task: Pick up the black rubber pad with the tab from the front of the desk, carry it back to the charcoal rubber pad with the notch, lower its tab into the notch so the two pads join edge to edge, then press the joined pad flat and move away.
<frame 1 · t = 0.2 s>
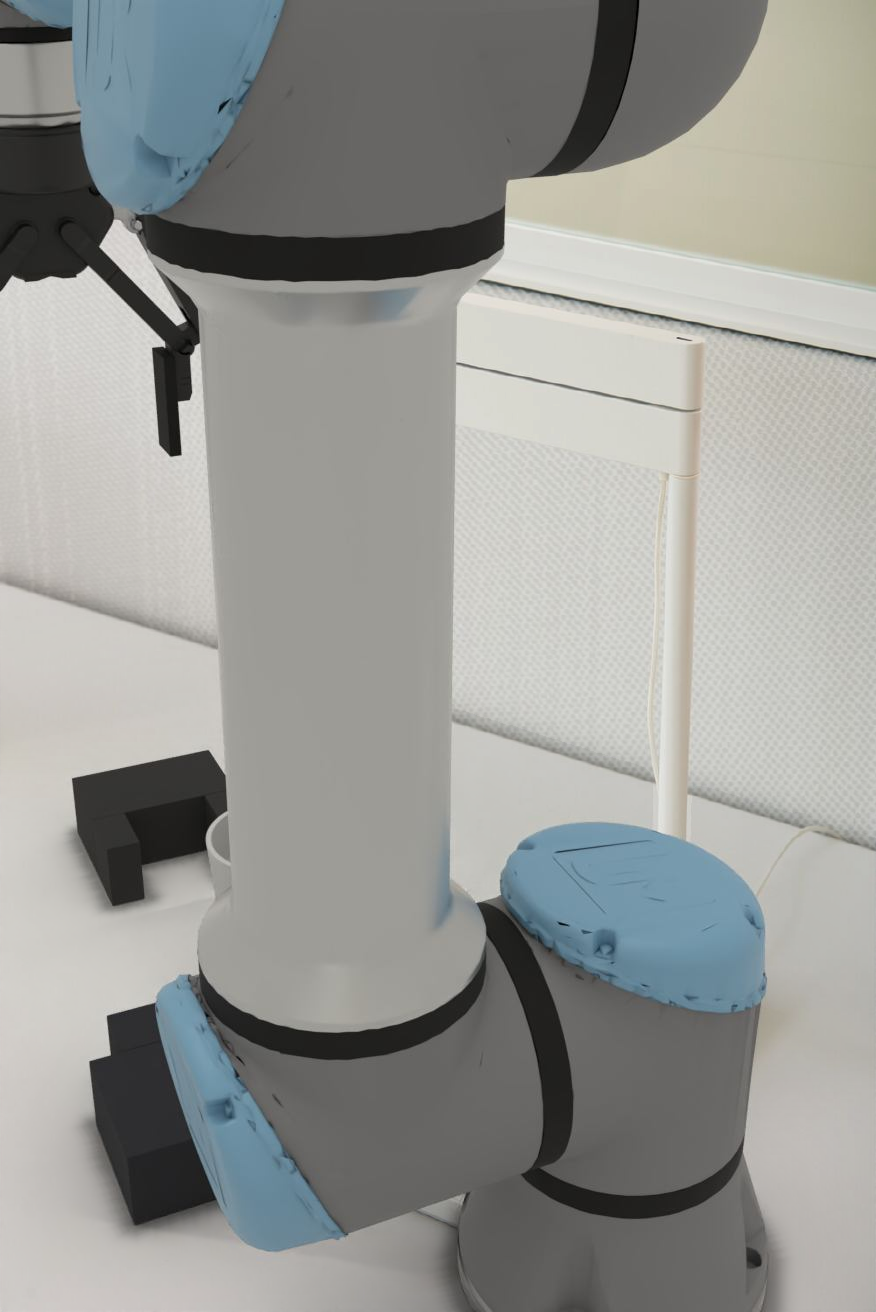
hand: (66, 464, 104), 28 cm above the table, tool pointing down, fingers open, 13 cm apart
cup: (283, 1003, 99), on the table
tab pad: (187, 1151, 88), on the table
notch pad: (165, 851, 114), on the table
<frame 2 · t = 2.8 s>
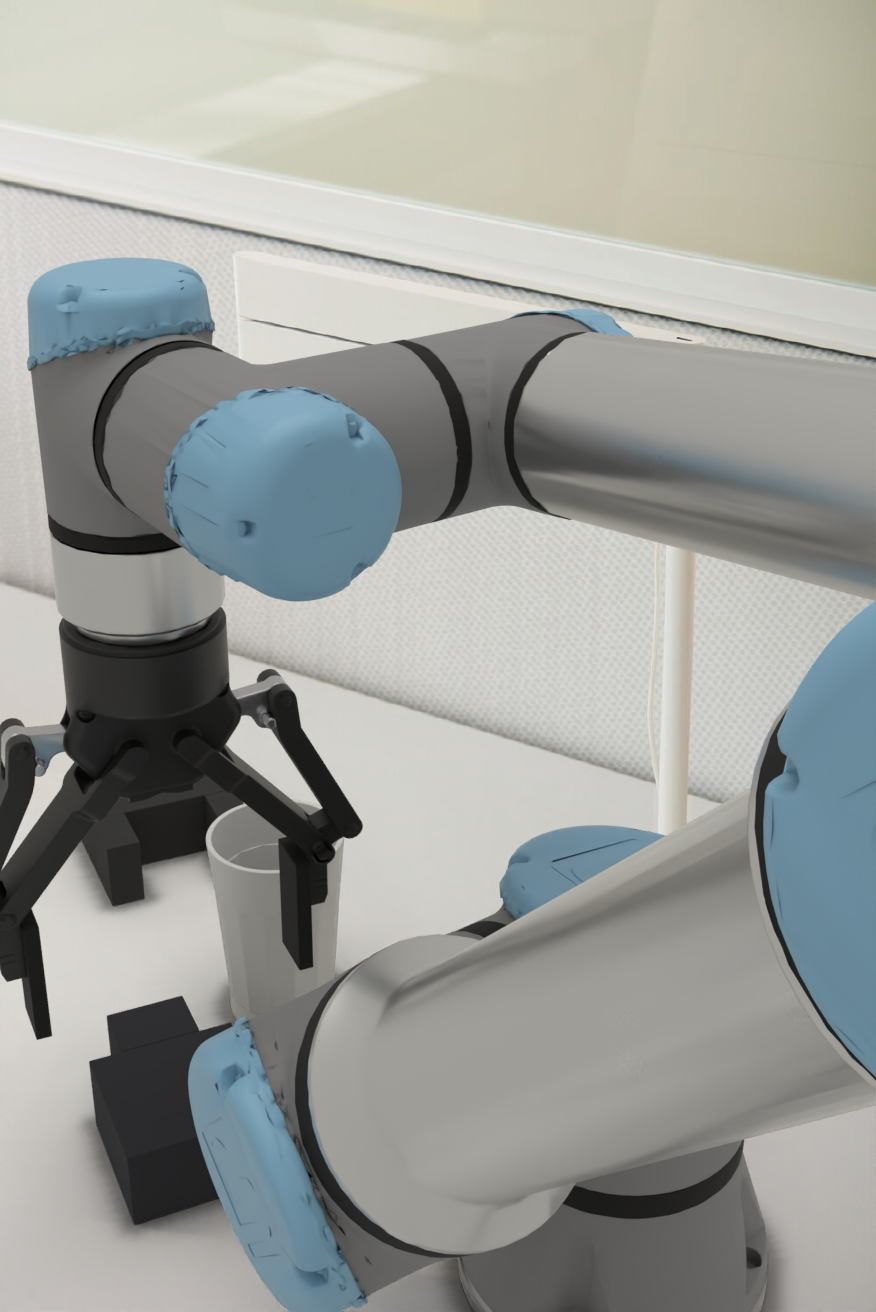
hand: (172, 987, 83), 11 cm above the table, tool pointing down, fingers open, 13 cm apart
nothing on the table moved.
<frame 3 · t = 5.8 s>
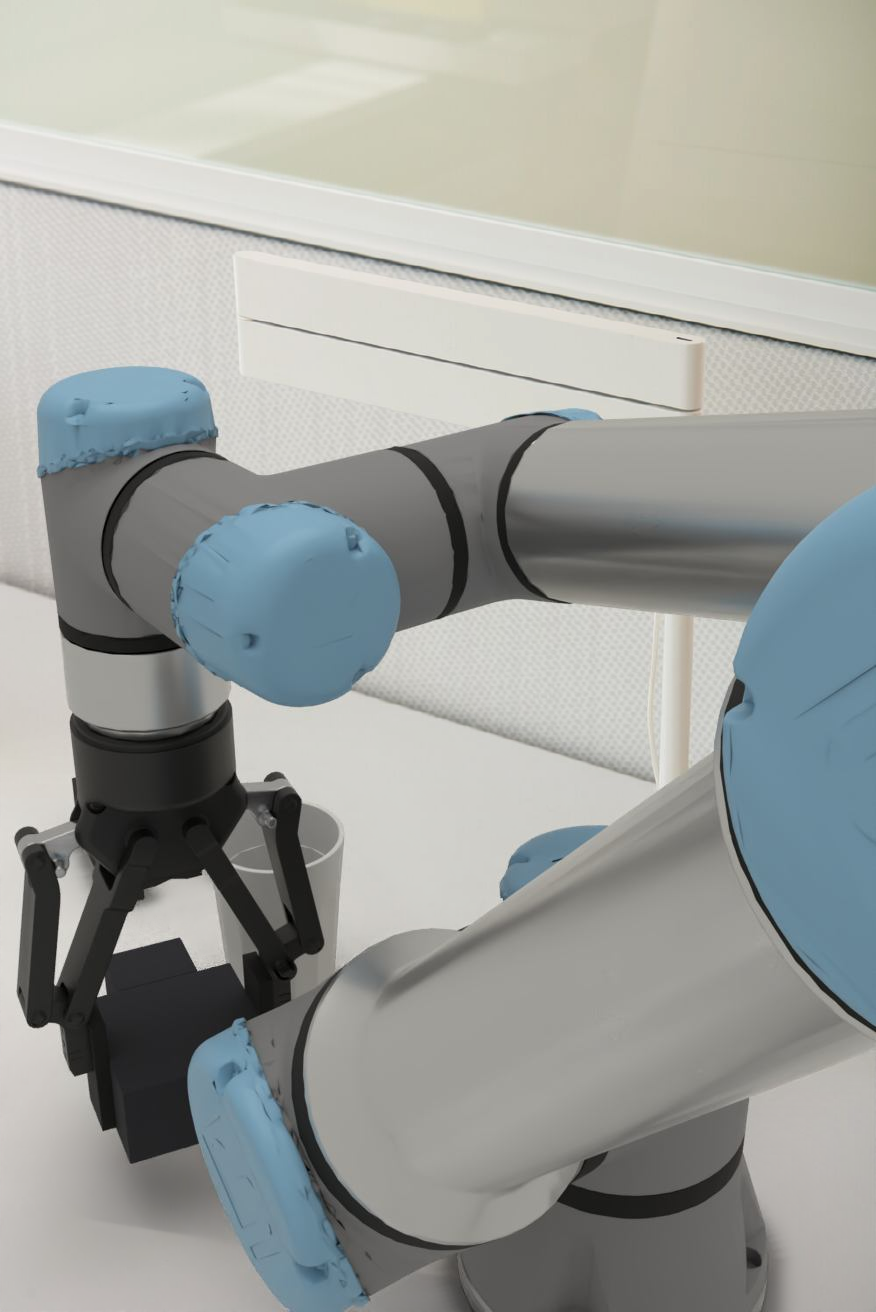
hand: (185, 1088, 85), 5 cm above the table, tool pointing down, fingers closed on tab pad, 8 cm apart
tab pad: (185, 1092, 86), point 4 cm above the table, touching gripper
everything else where it was.
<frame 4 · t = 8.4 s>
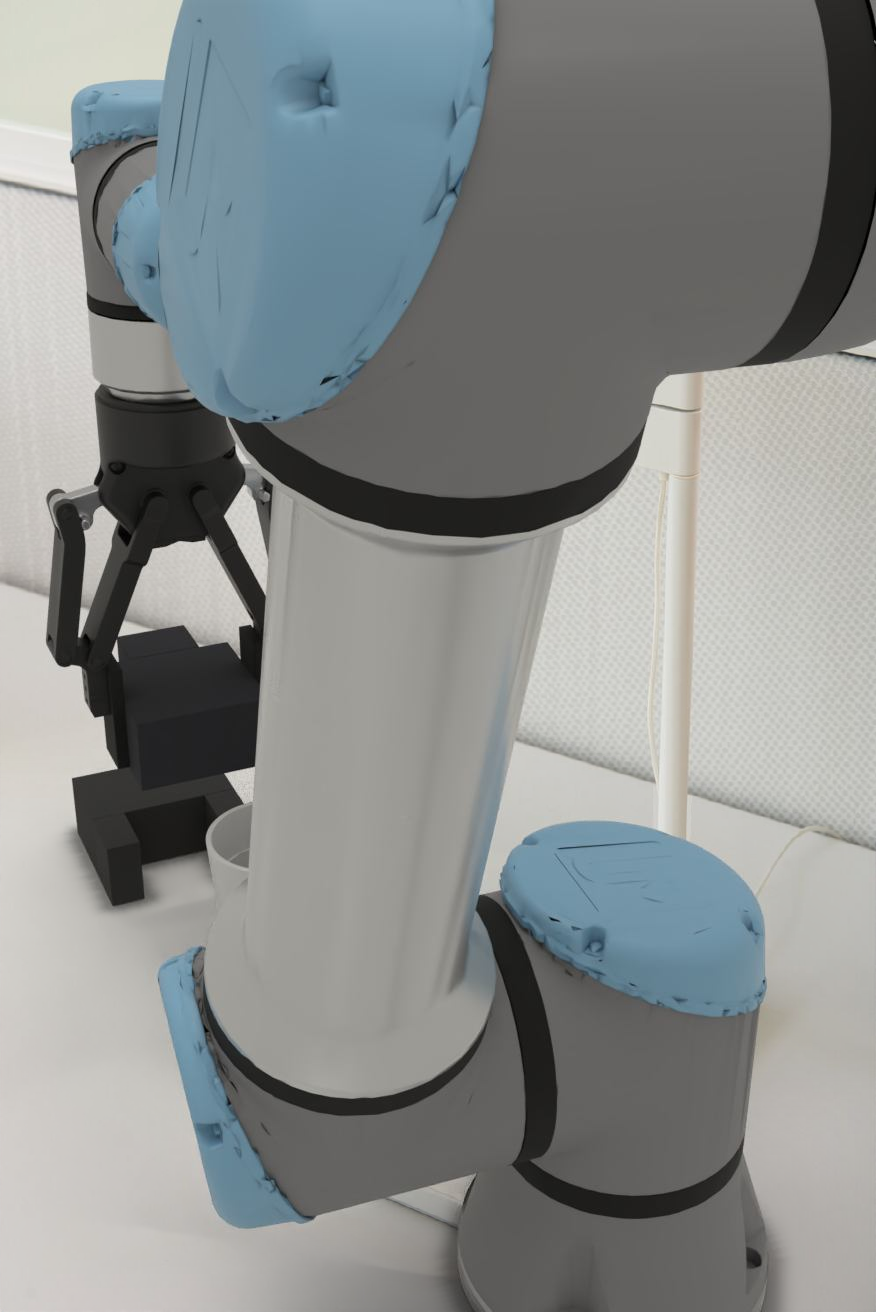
hand: (188, 742, 99), 14 cm above the table, tool pointing down, fingers closed on tab pad, 8 cm apart
tab pad: (188, 745, 99), point 14 cm above the table, touching gripper
everything else where it was.
when the fingers open (0 cm above the table, at t = 11.2 s): tab pad stays where it is, on the table.
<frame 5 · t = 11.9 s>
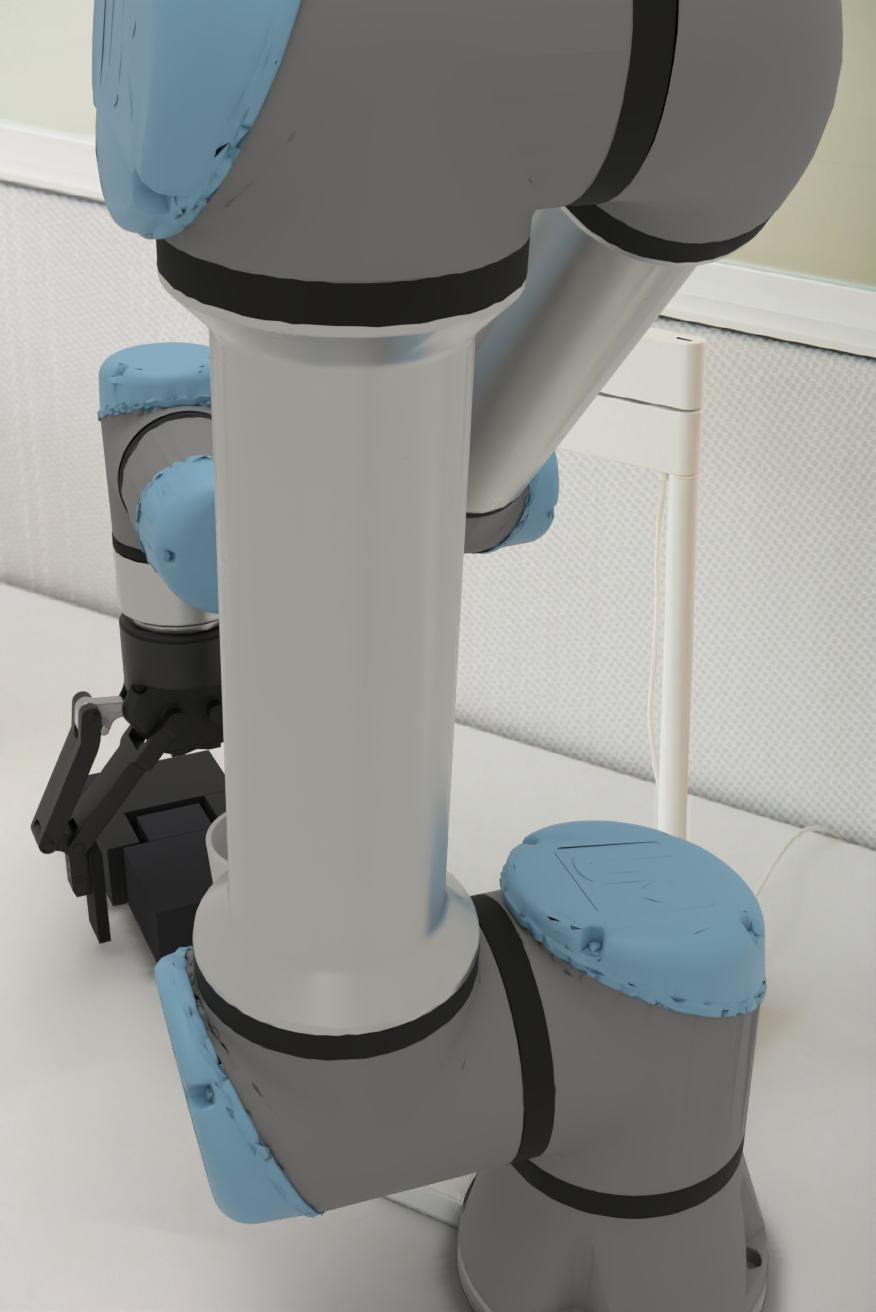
hand: (203, 906, 106), 1 cm above the table, tool pointing down, fingers open, 13 cm apart
tab pad: (203, 922, 106), on the table
everything else where it was.
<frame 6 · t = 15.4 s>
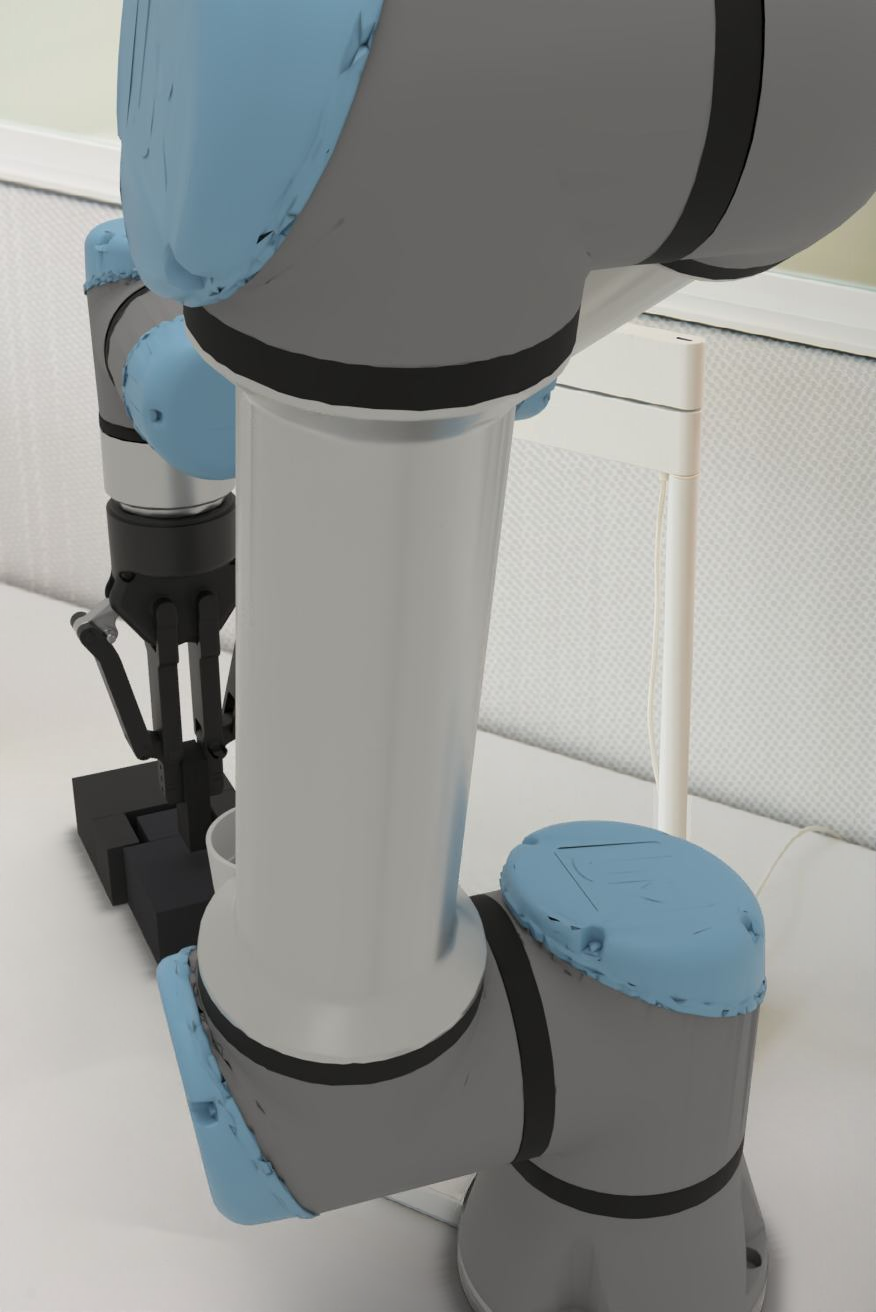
hand: (195, 839, 104), 6 cm above the table, tool pointing down, fingers closed
nothing on the table moved.
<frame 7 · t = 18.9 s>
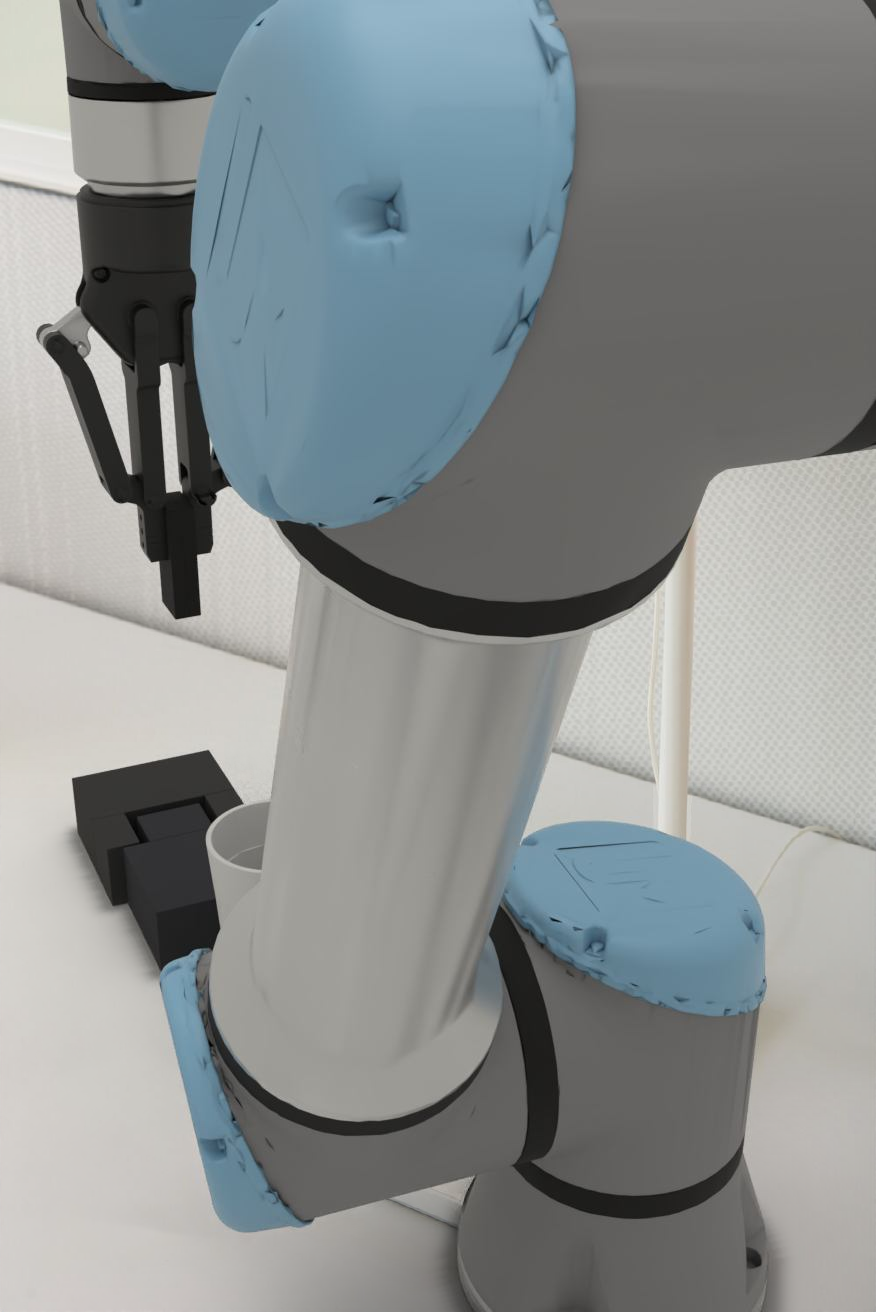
hand: (181, 608, 92), 24 cm above the table, tool pointing down, fingers closed
nothing on the table moved.
at the end: tab pad 0.2 cm from the target spot on the table beside the notch pad, on the table; tab pad tilted 0°; the gripper is holding nothing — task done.
